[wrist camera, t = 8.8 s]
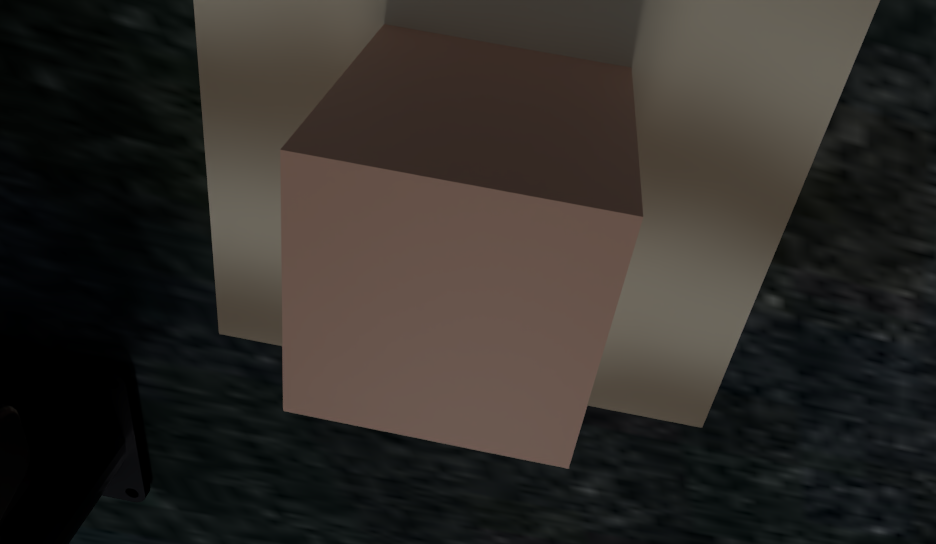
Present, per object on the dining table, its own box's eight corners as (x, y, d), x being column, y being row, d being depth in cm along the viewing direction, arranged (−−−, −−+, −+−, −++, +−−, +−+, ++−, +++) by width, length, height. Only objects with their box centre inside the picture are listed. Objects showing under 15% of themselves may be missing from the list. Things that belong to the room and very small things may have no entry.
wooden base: (693, 365, 22) (701, 428, 20) (253, 281, 23) (219, 333, 21) (887, -143, 15) (932, -126, 13) (231, -243, 16) (174, -243, 14)
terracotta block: (578, 274, 18) (568, 468, 13) (369, 234, 18) (283, 410, 13) (631, 67, 15) (643, 216, 10) (384, 24, 16) (280, 149, 11)
